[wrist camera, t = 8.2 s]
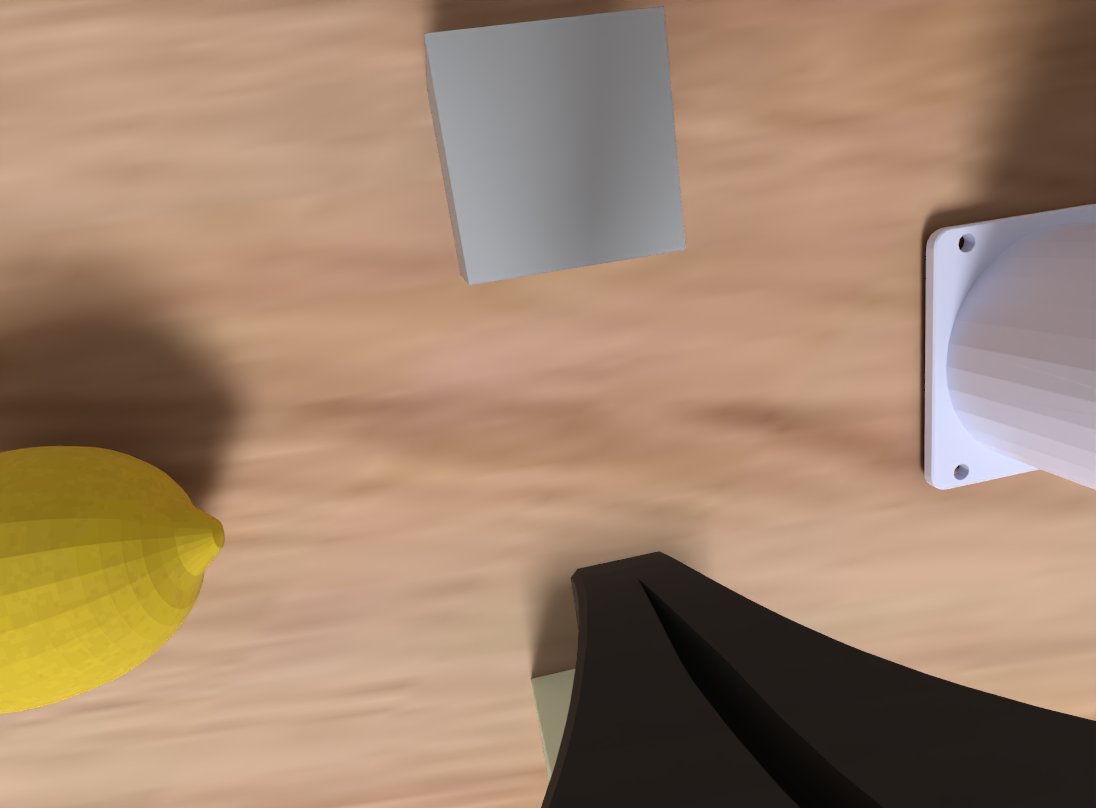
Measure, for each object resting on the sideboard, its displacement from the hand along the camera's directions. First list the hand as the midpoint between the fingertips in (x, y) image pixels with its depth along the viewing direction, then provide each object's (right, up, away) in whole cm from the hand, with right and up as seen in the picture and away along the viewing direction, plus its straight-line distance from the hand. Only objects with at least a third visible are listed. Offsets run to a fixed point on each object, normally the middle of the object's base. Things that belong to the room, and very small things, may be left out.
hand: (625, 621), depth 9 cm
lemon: (-8, 0, +5) cm, 10 cm away
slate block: (-2, +9, +7) cm, 12 cm away
